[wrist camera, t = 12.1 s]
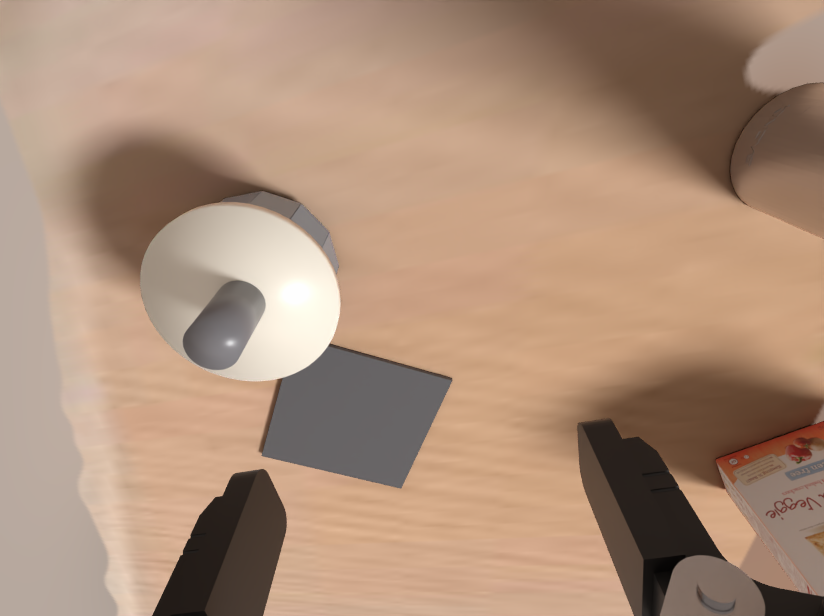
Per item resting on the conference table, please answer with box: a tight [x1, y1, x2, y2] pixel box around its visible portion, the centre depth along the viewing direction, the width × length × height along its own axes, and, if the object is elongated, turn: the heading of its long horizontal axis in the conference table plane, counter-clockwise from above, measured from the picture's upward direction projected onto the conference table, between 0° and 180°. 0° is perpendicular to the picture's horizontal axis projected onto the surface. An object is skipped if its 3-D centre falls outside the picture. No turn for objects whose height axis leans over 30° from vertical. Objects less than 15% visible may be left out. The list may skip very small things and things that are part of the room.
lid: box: [140, 202, 341, 381], centre depth 30 cm, size 13×13×6 cm
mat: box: [262, 344, 452, 488], centre depth 47 cm, size 15×15×1 cm
